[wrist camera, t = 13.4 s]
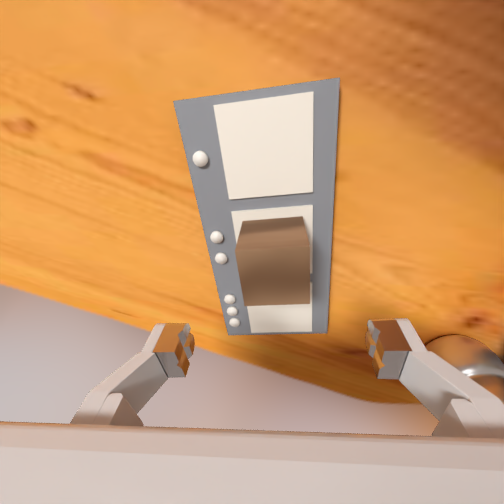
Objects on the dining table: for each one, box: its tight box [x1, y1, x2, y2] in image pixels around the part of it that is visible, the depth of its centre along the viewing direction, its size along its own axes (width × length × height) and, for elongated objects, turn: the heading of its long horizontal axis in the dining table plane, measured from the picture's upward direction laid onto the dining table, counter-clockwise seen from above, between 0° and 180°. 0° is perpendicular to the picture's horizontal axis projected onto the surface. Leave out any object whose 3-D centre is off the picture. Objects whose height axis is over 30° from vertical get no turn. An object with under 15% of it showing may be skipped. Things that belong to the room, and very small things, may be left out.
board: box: [173, 78, 340, 335], centre depth 20 cm, size 21×10×1 cm, turn 7°
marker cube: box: [235, 216, 310, 306], centre depth 18 cm, size 4×4×4 cm
